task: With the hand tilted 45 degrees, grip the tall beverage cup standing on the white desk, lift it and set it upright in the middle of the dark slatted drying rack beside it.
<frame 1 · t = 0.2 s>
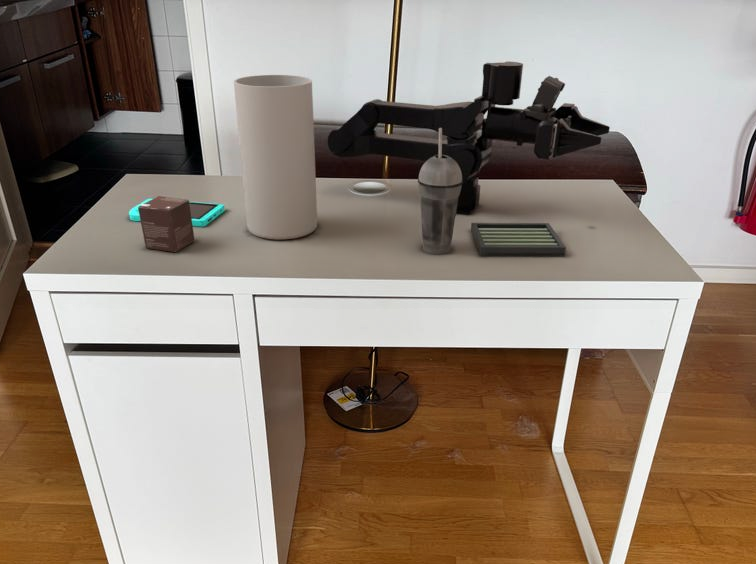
hand: (605, 135, 118), 17 cm above the table, tool horizontal, fingers open, 9 cm apart
beverage cup: (436, 250, 116), on the table
drying rack: (515, 243, 119), on the table
cylinder vase: (282, 229, 124), on the table
handheld game console: (176, 215, 129), on the table
box: (170, 246, 116), on the table
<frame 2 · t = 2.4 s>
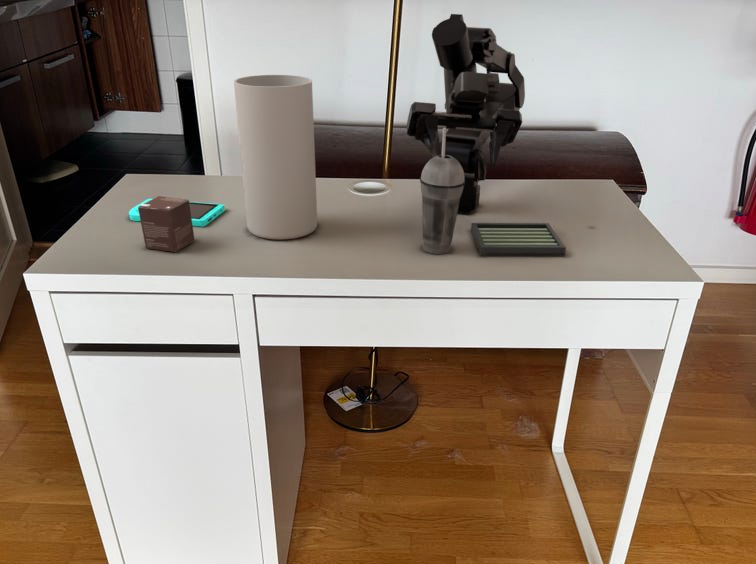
hand: (466, 164, 113), 13 cm above the table, tool tilted 50°, fingers open, 9 cm apart
nothing on the table moved.
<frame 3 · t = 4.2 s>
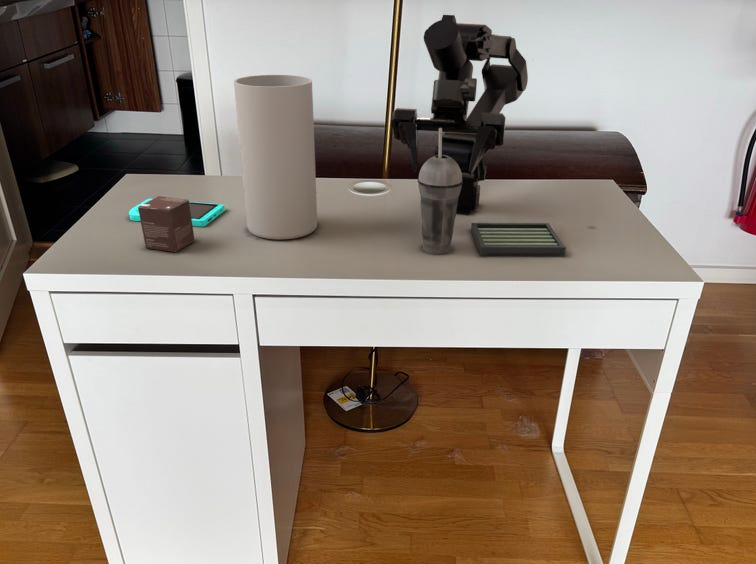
hand: (442, 171, 113), 12 cm above the table, tool tilted 45°, fingers open, 9 cm apart
nothing on the table moved.
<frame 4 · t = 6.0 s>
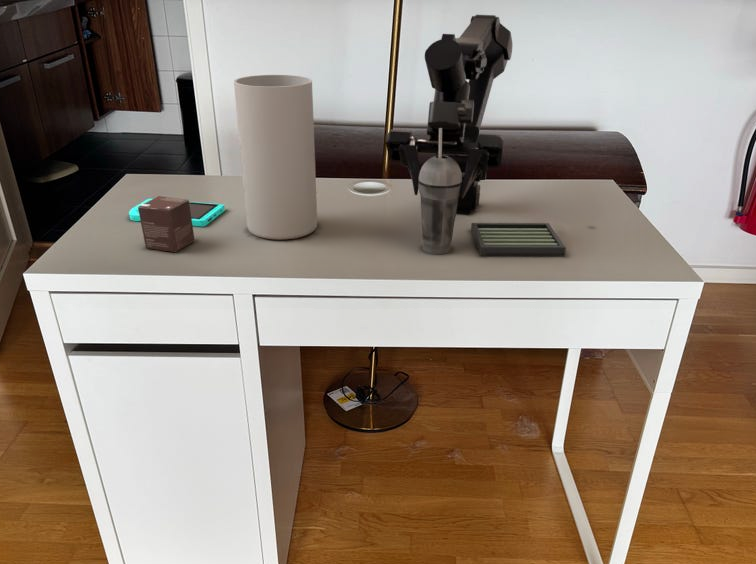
hand: (438, 195, 110), 10 cm above the table, tool tilted 45°, fingers closed on beverage cup, 7 cm apart
beverage cup: (436, 250, 116), on the table, touching gripper
everything else where it was.
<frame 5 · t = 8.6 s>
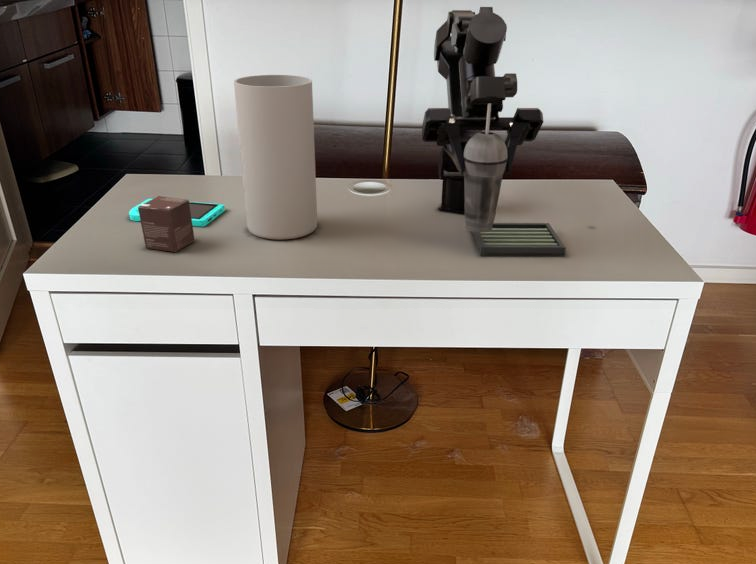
hand: (485, 172, 108), 13 cm above the table, tool tilted 45°, fingers closed on beverage cup, 7 cm apart
beverage cup: (478, 228, 115), point 3 cm above the table, touching gripper
everything else where it was.
when the fingers open (11 cm above the table, at t = 11.3 s): beverage cup stays where it is, resting on drying rack.
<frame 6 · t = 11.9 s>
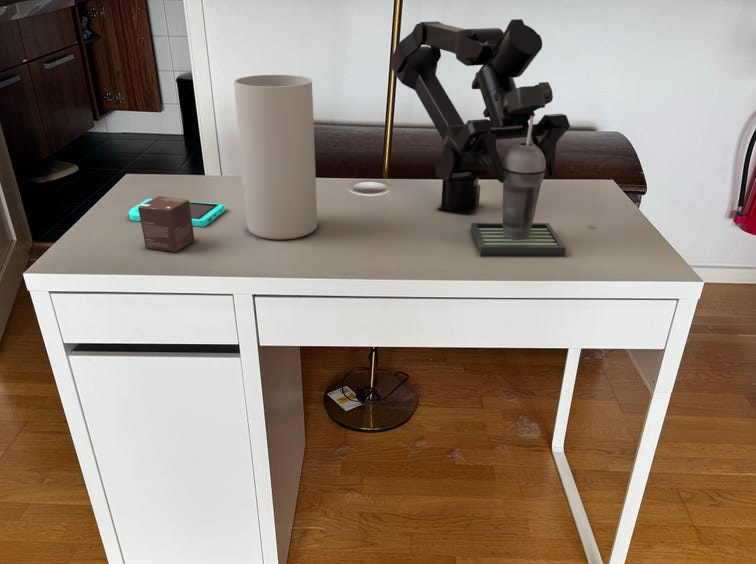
hand: (528, 178, 112), 12 cm above the table, tool tilted 45°, fingers open, 9 cm apart
beverage cup: (515, 236, 118), point 1 cm above the table, touching drying rack
everything else where it was.
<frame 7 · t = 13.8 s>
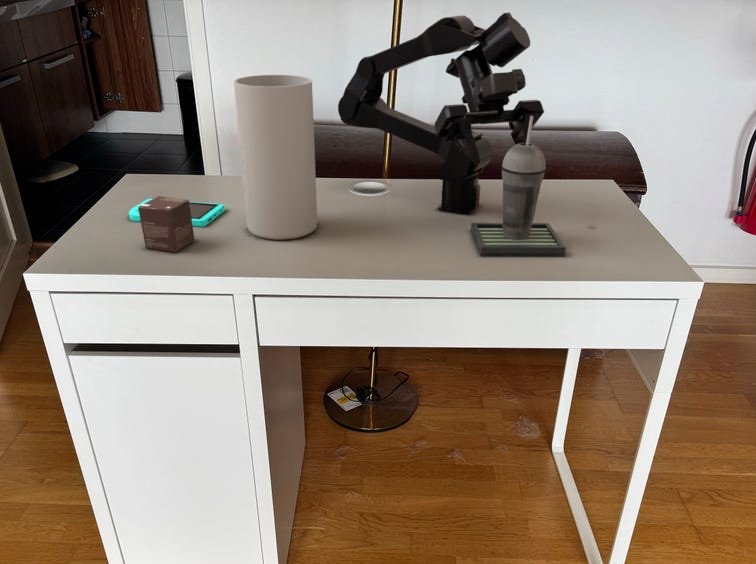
hand: (502, 161, 117), 13 cm above the table, tool tilted 45°, fingers open, 9 cm apart
nothing on the table moved.
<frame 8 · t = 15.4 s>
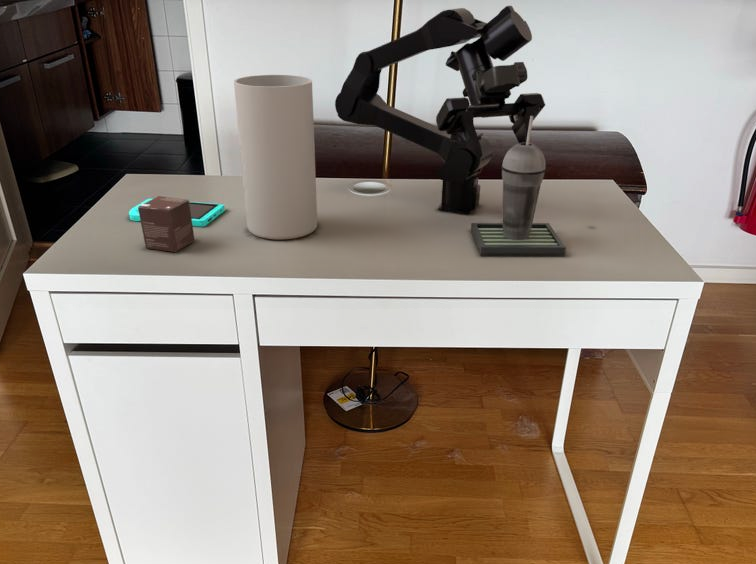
hand: (504, 154, 117), 14 cm above the table, tool tilted 45°, fingers open, 9 cm apart
nothing on the table moved.
at the end: beverage cup inside the target area on the drying rack (0.3 cm from its centre), point 1.1 cm above the drying rack's base; beverage cup tilted 0°; the gripper is holding nothing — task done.
